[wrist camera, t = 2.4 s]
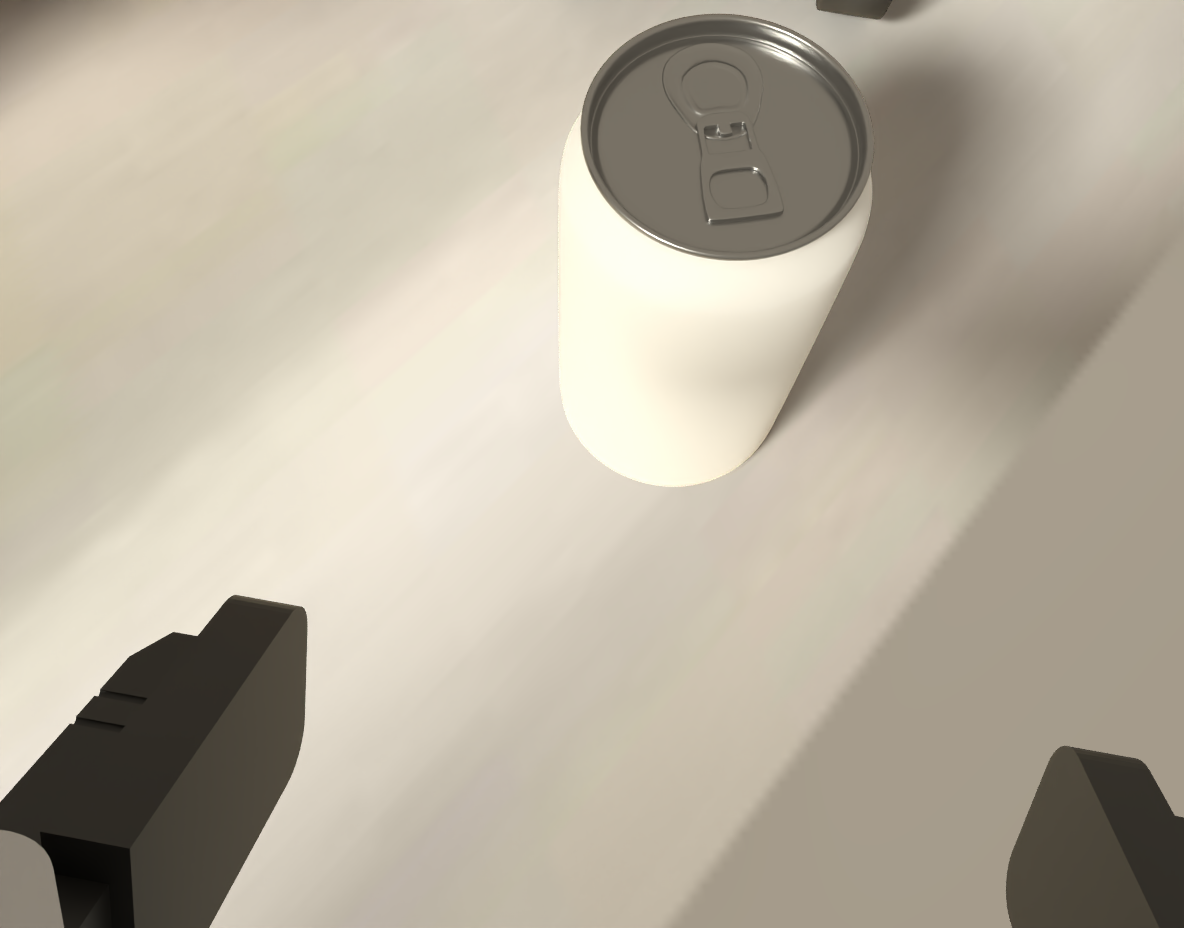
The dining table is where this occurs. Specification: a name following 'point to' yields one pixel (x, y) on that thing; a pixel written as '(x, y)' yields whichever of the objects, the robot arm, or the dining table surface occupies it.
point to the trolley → (855, 7)
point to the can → (703, 239)
